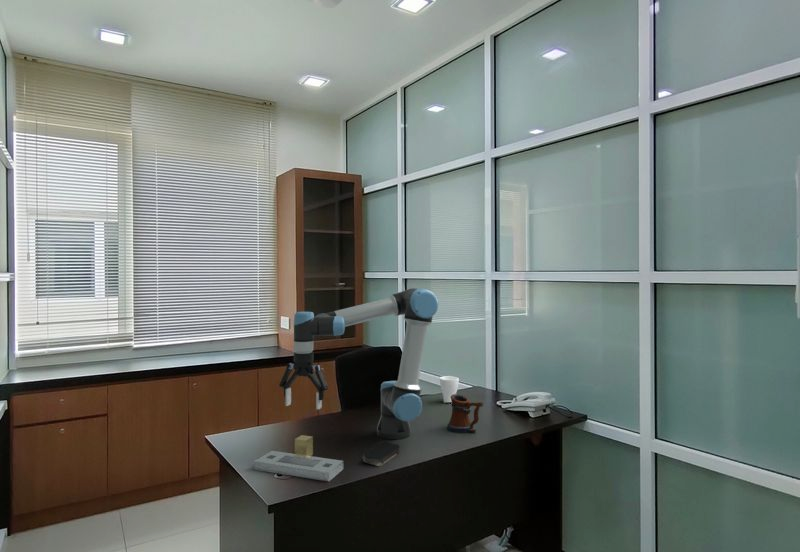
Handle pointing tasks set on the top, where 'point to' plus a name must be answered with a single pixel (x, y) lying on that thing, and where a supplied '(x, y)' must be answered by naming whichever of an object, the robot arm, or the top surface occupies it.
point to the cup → (448, 387)
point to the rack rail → (299, 465)
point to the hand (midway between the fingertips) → (303, 406)
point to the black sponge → (381, 453)
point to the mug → (462, 414)
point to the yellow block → (304, 445)
